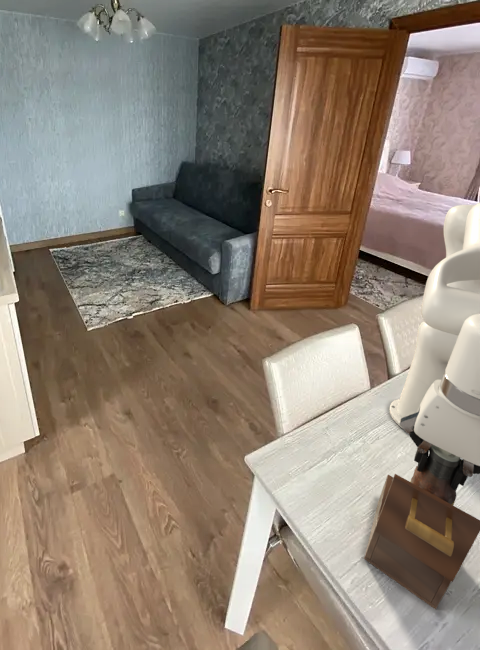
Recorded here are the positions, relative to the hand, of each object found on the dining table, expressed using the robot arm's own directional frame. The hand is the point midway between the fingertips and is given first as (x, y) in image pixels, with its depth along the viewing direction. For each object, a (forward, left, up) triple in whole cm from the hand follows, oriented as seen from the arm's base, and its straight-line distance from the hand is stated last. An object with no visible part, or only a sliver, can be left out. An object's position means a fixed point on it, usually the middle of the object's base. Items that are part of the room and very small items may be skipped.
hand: (436, 473), depth 59 cm
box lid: (+5, +3, -6) cm, 8 cm away
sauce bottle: (0, 0, -15) cm, 15 cm away
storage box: (0, 0, -22) cm, 22 cm away
